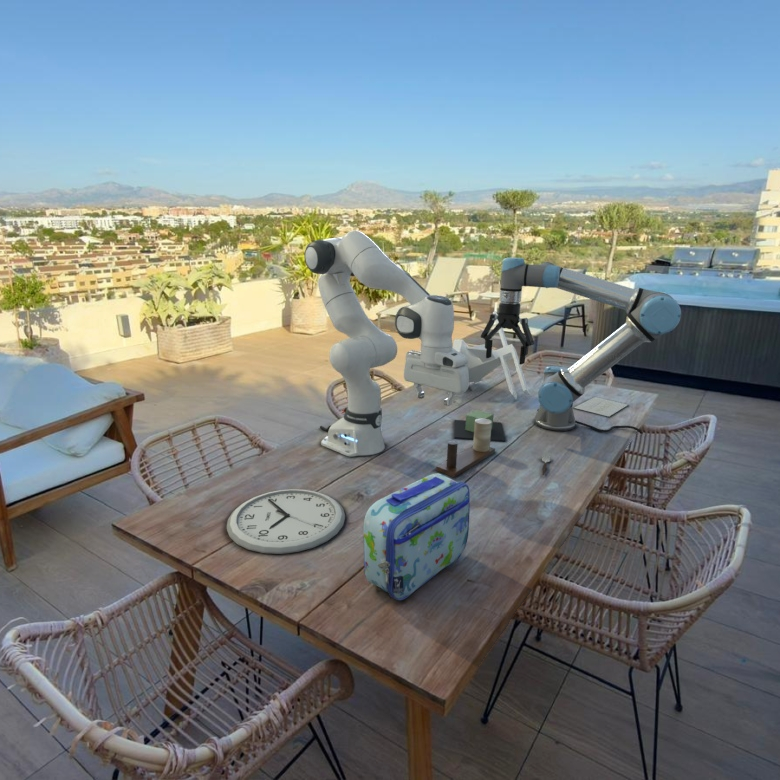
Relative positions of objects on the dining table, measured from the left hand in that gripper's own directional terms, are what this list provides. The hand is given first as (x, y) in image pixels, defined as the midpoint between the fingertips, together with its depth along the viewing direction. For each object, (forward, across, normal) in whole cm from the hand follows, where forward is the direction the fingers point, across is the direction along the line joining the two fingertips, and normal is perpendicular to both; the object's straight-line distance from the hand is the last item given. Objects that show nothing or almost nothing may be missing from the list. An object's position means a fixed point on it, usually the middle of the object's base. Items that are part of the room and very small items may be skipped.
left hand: (433, 401), depth 151 cm
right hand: (-2, -4, +53) cm, 53 cm away
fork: (+25, +23, +32) cm, 47 cm away
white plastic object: (+25, -32, +88) cm, 97 cm away
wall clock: (+25, -16, -42) cm, 52 cm away
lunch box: (+25, +23, -39) cm, 52 cm away
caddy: (+25, +2, +19) cm, 31 cm away
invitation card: (+25, +18, +105) cm, 109 cm away
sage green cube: (+24, -8, +45) cm, 52 cm away
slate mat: (+25, -8, +45) cm, 52 cm away
